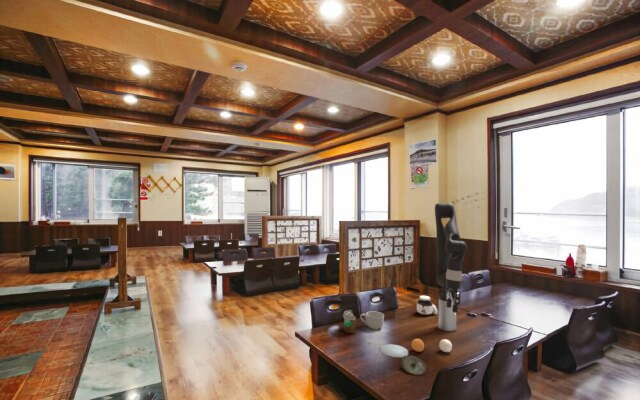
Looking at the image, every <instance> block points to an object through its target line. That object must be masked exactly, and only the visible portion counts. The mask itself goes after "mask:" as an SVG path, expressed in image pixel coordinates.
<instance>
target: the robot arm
mask: <svg viewBox="0 0 640 400" xmlns="http://www.w3.org/2000/svg"><path fill="white" fill-rule="evenodd" d="M454 205H455V204H453V203H451V202H438V203H436V204H435V206H434V216H435V217H434V218H435V227H436V229H435V230H436V254H437V255H436V256H437V257H436V259H437V269H436V282H437V284H438V285H439V286H440V287H442V292H441V293H438V323H437V324H438V326H437V327H438V329H440V330H442V331H446V332H454V331H457V316H458V315H457V313H458V307H459V306H460V305H461V292H459V291H458V290H460V289H462V279H463V273H462V272H463V271H462V270H463V261H464V258H465V255H466V252H467V249H468V246H467V243H466V242H465V241H462V240H460V239H461V235H460V232H459V229H458V223H457V222H458V221H457V216H456V208H455V206H454ZM442 219H449V220H448V221H447V223H446V224H445V226H444V224H443V221H442ZM453 254H454V255H456V257H452V256H453Z"/></svg>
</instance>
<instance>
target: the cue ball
mask: <svg viewBox="0 0 640 400" xmlns="http://www.w3.org/2000/svg"><path fill="white" fill-rule="evenodd" d="M438 346H439V349H440V350H441V351H442V352H443V353H449V352H451V351H452V349H453V344H452V342H451V341H450V340H449V339H446V338H444V339H443V338H442V339H441V340H440V341H439V344H438Z"/></svg>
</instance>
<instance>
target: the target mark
mask: <svg viewBox="0 0 640 400" xmlns="http://www.w3.org/2000/svg"><path fill="white" fill-rule="evenodd" d="M379 351H380V352H381V353H382V354H384V355H385V356H387V357H390V356H391V357H392V358H404V356H405V357H406V356H409V350H408V349H407V348H406V347H403V346H401V345H399V344H393V343H389V344H383V345H381V346H380V347H379Z"/></svg>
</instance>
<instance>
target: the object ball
mask: <svg viewBox="0 0 640 400" xmlns="http://www.w3.org/2000/svg"><path fill="white" fill-rule="evenodd" d="M411 347H412V350H414V351H415V352H418V353H419V352H422V351H423V350H424V349H425V344H424V341H423V340H421V339H420V338H415V339H413V340H412V341H411Z"/></svg>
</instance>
